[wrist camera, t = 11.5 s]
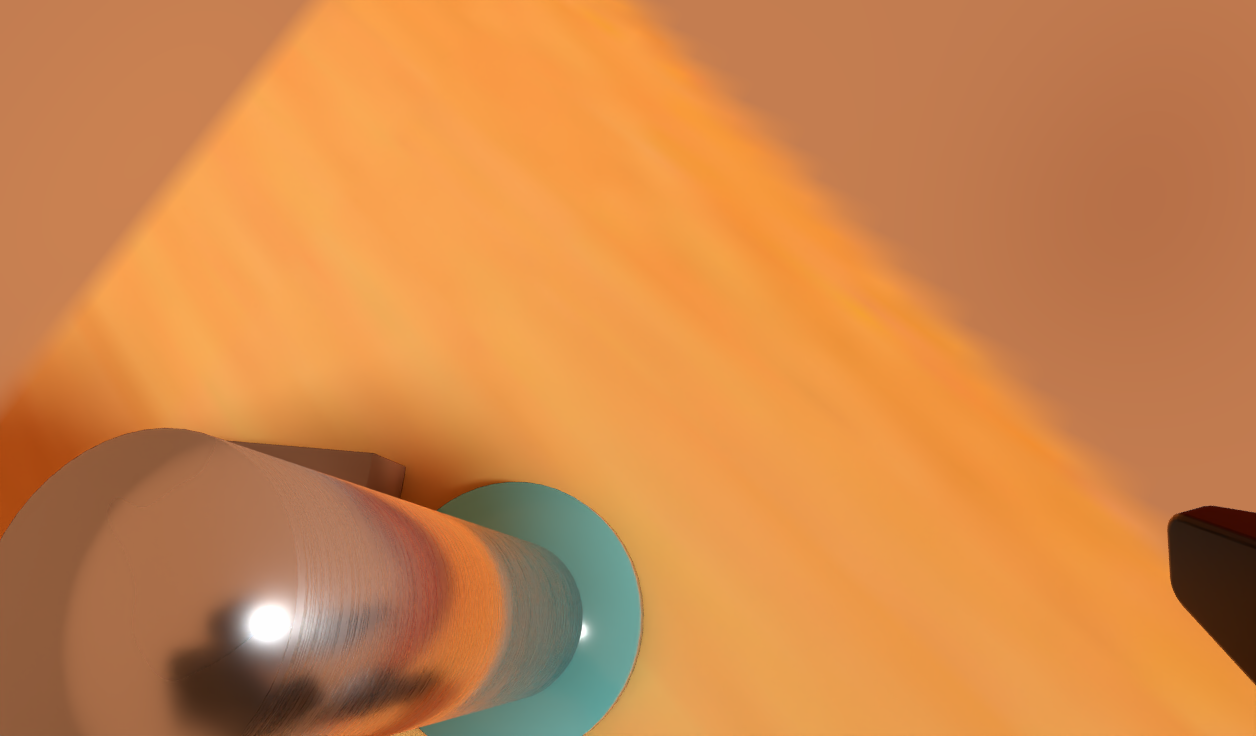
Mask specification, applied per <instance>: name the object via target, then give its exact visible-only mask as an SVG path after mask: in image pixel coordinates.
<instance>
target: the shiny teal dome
mask: <svg viewBox="0 0 1256 736" xmlns="http://www.w3.org/2000/svg"><path fill="white" fill-rule="evenodd" d="M437 511H438V512H441V513H444V514H447V515H450V516H453V517H456V518H459V519H462V520H465V521H468V522H471V523H474V524H477V525H480V526H483V527H486V528H489V529H492V530H495V531H498V532H501V533H504V534H507V535H510V536H513V537H516V538H519V539H522V540H525V541H528V542H531V543H534V544H536V545H539V546H541V547H543V548H545V549H547V550H549V551H550V552H551V553H553V554H554V555H555V556H557V557H558V558H559V559H560V560H561V561H562V562H563V563H564V565H565V566H566V567H567V568H568V570H569V571H570V573H571V575H572V576H573V578H574V580H575V582H576V585H577V587H578V590H579V593H580V597H581V602H582V609H583V623H582V632H581V636H580V641H579V644H578V647H577V649H576V652H575V654H574V656H573V658H572V660H571V662H570V663H569V665H568V666H567V668H566V669H565V671H564V672H563V673H562V674H561V675H560V676H559V678H558V679H557V680H555V681H554V682H553V683H552V684H551V685H550V686H548V687H547V688H545V689H544V690H542V691H541V692H539V693H537V694H535V695H533V696H530V697H527V698H524V699H520V700H517V701H513V702H510V703H506V704H502V705H499V706H495V707H492V708H488V709H484V710H481V711H477V712H474V713H470V714H466V715H463V716H459V717H456V718H452V719H448V720H445V721H441V722H438V723H434V724H430V725H427V726H423V727H419V728H420V729H421V730H422V732H424V733H425V734H426V735H427V736H584V735H585V734H586V733H588V732H589V731H590V730H592V729H593V728H594V727H595V726H596V725H597V724H598V723H599V722H600V721H601V720H602V719H603V718H604V717H605V716H606V715H607V714H608V713H609V711H610V710H611V709H612V708H613V706H614V705H615V704H616V703H617V701H618V700H619V698H620V696H621V695H622V693H623V691H624V690H625V688H626V686H627V684H628V682H629V680H630V677H631V675H632V673H633V671H634V668H635V665H636V662H637V658H638V655H639V652H640V646H641V640H642V634H643V618H644V612H643V599H642V592H641V588H640V583H639V578H638V575H637V572H636V569H635V566H634V564H633V561H632V559H631V557H630V555H629V553H628V551H627V549H626V547H625V545H624V544H623V542H622V541H621V539H620V538H619V536H618V535H617V533H616V532H615V531H614V530H613V529H612V527H611V526H610V525H609V524H608V523H607V522H606V521H605V520H604V519H603V518H602V517H601V516H600V515H599V514H597V513H596V512H595V511H594V510H593V509H591V508H590V507H588V506H587V505H585V504H583V503H582V502H580V501H579V500H577V499H576V498H574V497H572V496H570V495H568V494H566V493H564V492H562V491H559V490H557V489H554V488H551V487H547V486H544V485H540V484H534V483H527V482H506V483H497V484H492V485H488V486H484V487H480V488H477V489H474V490H472V491H469V492H467V493H464V494H462V495H460V496H458V497H457V498H455V499H453V500H451V501H449V502H448V503H446V504H445V505H444V506H442V507H441V508H440V509H438V510H437Z"/></svg>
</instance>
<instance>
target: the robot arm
mask: <svg viewBox="0 0 1256 736" xmlns="http://www.w3.org/2000/svg"><path fill="white" fill-rule="evenodd" d="M1167 532H1168V549H1169V565H1170V580H1171V585H1172V588H1173V591H1174V593H1175V595H1176V597H1177V598H1178V600H1179V601H1180V603H1181V604H1182V605H1183V607H1184V608H1185V609H1186V610H1187V611H1188V612H1189V613H1190V614H1191V615H1192V616H1193V617H1194V619H1195V620H1196V621H1197V622H1198V623H1199V624H1200V625H1201V626H1202V627H1203V628H1204V629H1205V630H1206V632H1207V633H1208V634H1209V635H1210V636H1211V637H1212V638H1213V639H1214V640H1215V641H1216V642H1217V644H1218V645H1219V646H1220V647H1221V648H1222V649H1223V650H1224V651H1225V652H1226V653H1227V654H1228V656H1229V657H1230V658H1231V659H1232V660H1233V661H1234V662H1235V663H1236V664H1237V665H1238V666H1239V668H1240V669H1241V670H1242V671H1243V672H1244V673H1245V674H1246V675H1247V676H1248V677H1249V678H1250V680H1251V681H1252V682H1253V683H1254V684H1255V685H1256V513H1254V512H1248V511H1242V510H1235V509H1230V508H1223V507H1217V506H1203V507H1200V508H1196V509H1193V510H1189V511H1186V512H1181V513H1178V514H1175V515H1174V516H1173V517H1172V518H1171V519H1170V520H1169V523H1168V529H1167Z"/></svg>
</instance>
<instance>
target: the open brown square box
mask: <svg viewBox="0 0 1256 736" xmlns="http://www.w3.org/2000/svg"><path fill="white" fill-rule="evenodd" d="M228 442H231V443H234V444H237V445H240V446H243V447H246V448H249V449H252V450H255V451H258V452H261V453H264V454H267V455H270V456H273V457H276V458H279V459H282V460H285V461H288V462H291V463H294V464H297V465H300V466H303V467H306V468H309V469H312V470H315V471H318V472H321V473H324V474H327V475H330V476H333V477H336V478H339V479H342V480H345V481H348V482H351V483H354V484H357V485H360V486H363V487H366V488H369V489H372V490H375V491H378V492H381V493H384V494H387V495H390V496H393V497H396V498H399V499H400V494H401V489H402V484H403V479H404V474H405V469H406V467H405V466H403V465H400V464H398V463H395V462H393V461H391V460H388V459H386V458H384V457H381V456H379V455H376V454H374V453H365V452H353V451H342V450H330V449H318V448H306V447H294V446H282V445H271V444H259V443H247V442H235V441H228Z"/></svg>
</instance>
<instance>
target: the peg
mask: <svg viewBox="0 0 1256 736" xmlns="http://www.w3.org/2000/svg"><path fill="white" fill-rule="evenodd" d="M582 623H583V609H582V602H581V597H580V593H579V590H578V587H577V585H576V582H575V580H574V578H573V576H572V575H571V573H570V571H569V570H568V568H567V567H566V566H565V565H564V563H563V562H562V561H561V560H560V559H559V558H558V557H557V556H555V555H554V554H553V553H551V552H550V551H549V550H547V549H545V548H543V547H541V546H539V545H536V544H534V543H531V542H528V541H525V540H522V539H519V538H516V537H513V536H510V535H507V534H504V533H501V532H498V531H495V530H492V529H489V528H486V527H483V526H480V525H477V524H474V523H471V522H468V521H465V520H462V519H459V518H456V517H453V516H450V515H447V514H444V513H441V512H438V511H435V510H432V509H429V508H426V507H423V506H420V505H417V504H414V503H411V502H408V501H405V500H402V499H399V498H396V497H393V496H390V495H387V494H384V493H381V492H378V491H375V490H372V489H369V488H366V487H363V486H360V485H357V484H354V483H351V482H348V481H345V480H342V479H339V478H336V477H333V476H330V475H327V474H324V473H321V472H318V471H315V470H312V469H309V468H306V467H303V466H300V465H297V464H294V463H291V462H288V461H285V460H282V459H279V458H276V457H273V456H270V455H267V454H264V453H261V452H258V451H255V450H252V449H249V448H246V447H243V446H240V445H237V444H234V443H231V442H228V441H225V440H222V439H219V438H216V437H213V436H210V435H207V434H204V433H200V432H195V431H190V430H186V429H173V428H160V429H148V430H142V431H137V432H133V433H128V434H124V435H122V436H119V437H116V438H113V439H111V440H108V441H105V442H103V443H101V444H99V445H97V446H95V447H93V448H91V449H89V450H87V451H85V452H84V453H82V454H81V455H79V456H78V457H76V458H75V459H73V460H72V461H70V462H69V463H67V464H66V465H65V466H63V467H62V468H61V469H60V470H59V471H57V472H56V473H55V474H54V475H52V476H51V477H50V478H49V479H48V480H47V481H46V482H45V483H44V484H43V485H42V486H41V487H40V488H39V489H38V490H37V491H36V492H35V493H34V494H33V495H32V496H31V497H30V499H29V500H28V501H27V502H26V503H25V505H24V506H23V507H22V508H21V510H20V511H19V512H18V513H17V515H16V516H15V518H14V519H13V521H12V522H11V524H10V525H9V527H8V528H7V530H6V531H5V533H4V534H3V536H2V538H1V540H0V736H391V735H394V734H398V733H401V732H405V731H409V730H412V729H416V728H419V727H423V726H427V725H430V724H434V723H438V722H441V721H445V720H448V719H452V718H456V717H459V716H463V715H466V714H470V713H474V712H477V711H481V710H484V709H488V708H492V707H495V706H499V705H502V704H506V703H510V702H513V701H517V700H520V699H524V698H527V697H530V696H533V695H535V694H537V693H539V692H541V691H542V690H544V689H545V688H547V687H548V686H550V685H551V684H552V683H553V682H554V681H555V680H557V679H558V678H559V676H560V675H561V674H562V673H563V672H564V671H565V669H566V668H567V666H568V665H569V663H570V662H571V660H572V658H573V656H574V654H575V652H576V649H577V647H578V644H579V641H580V636H581V632H582Z"/></svg>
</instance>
